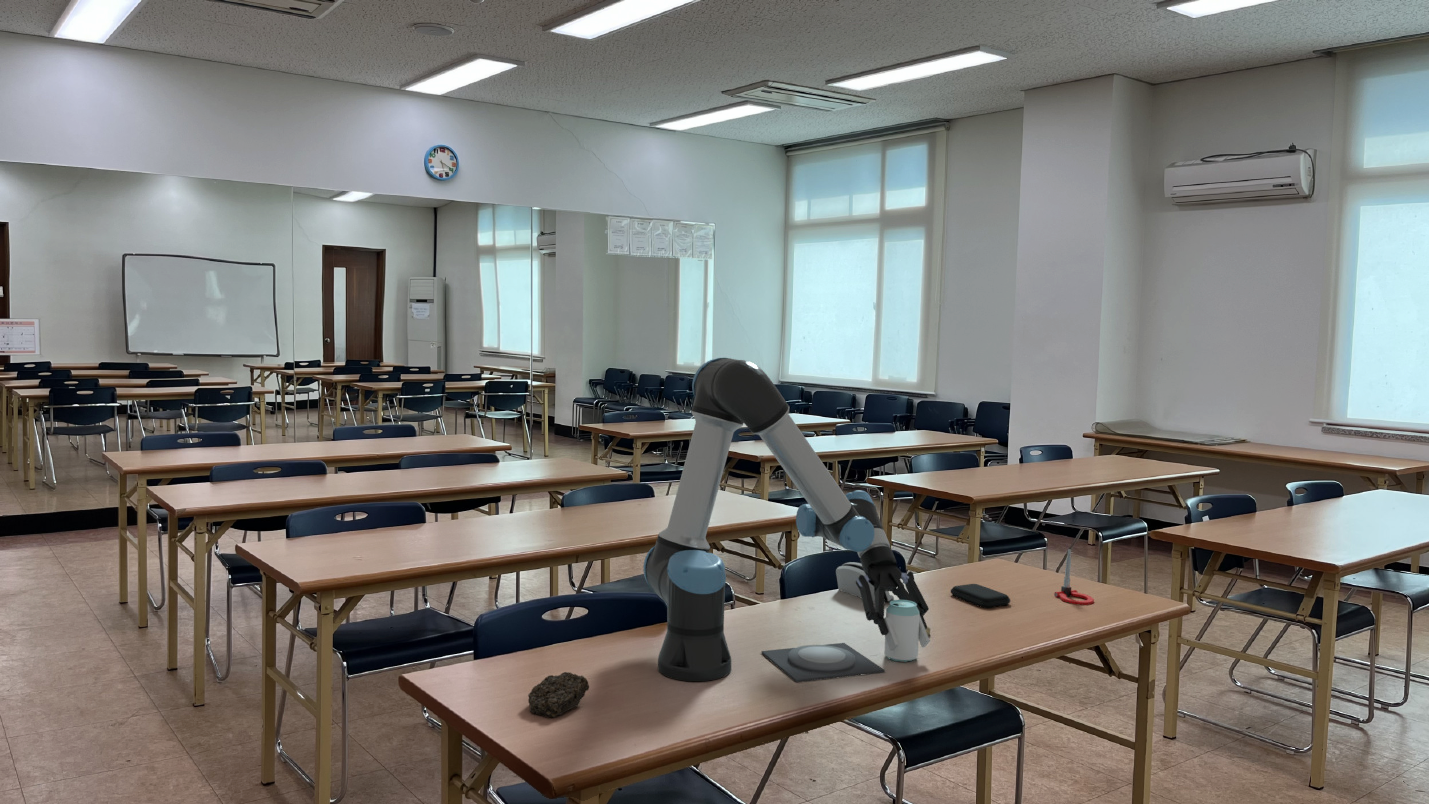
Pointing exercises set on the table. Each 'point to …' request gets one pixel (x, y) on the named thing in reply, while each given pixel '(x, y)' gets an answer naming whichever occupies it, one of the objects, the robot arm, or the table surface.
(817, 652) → the flange station
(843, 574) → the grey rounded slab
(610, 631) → the table surface
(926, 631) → the small brass flange
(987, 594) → the carrying case or bag
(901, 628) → the can
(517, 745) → the table surface
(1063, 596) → the tow hook
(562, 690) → the concrete sample
